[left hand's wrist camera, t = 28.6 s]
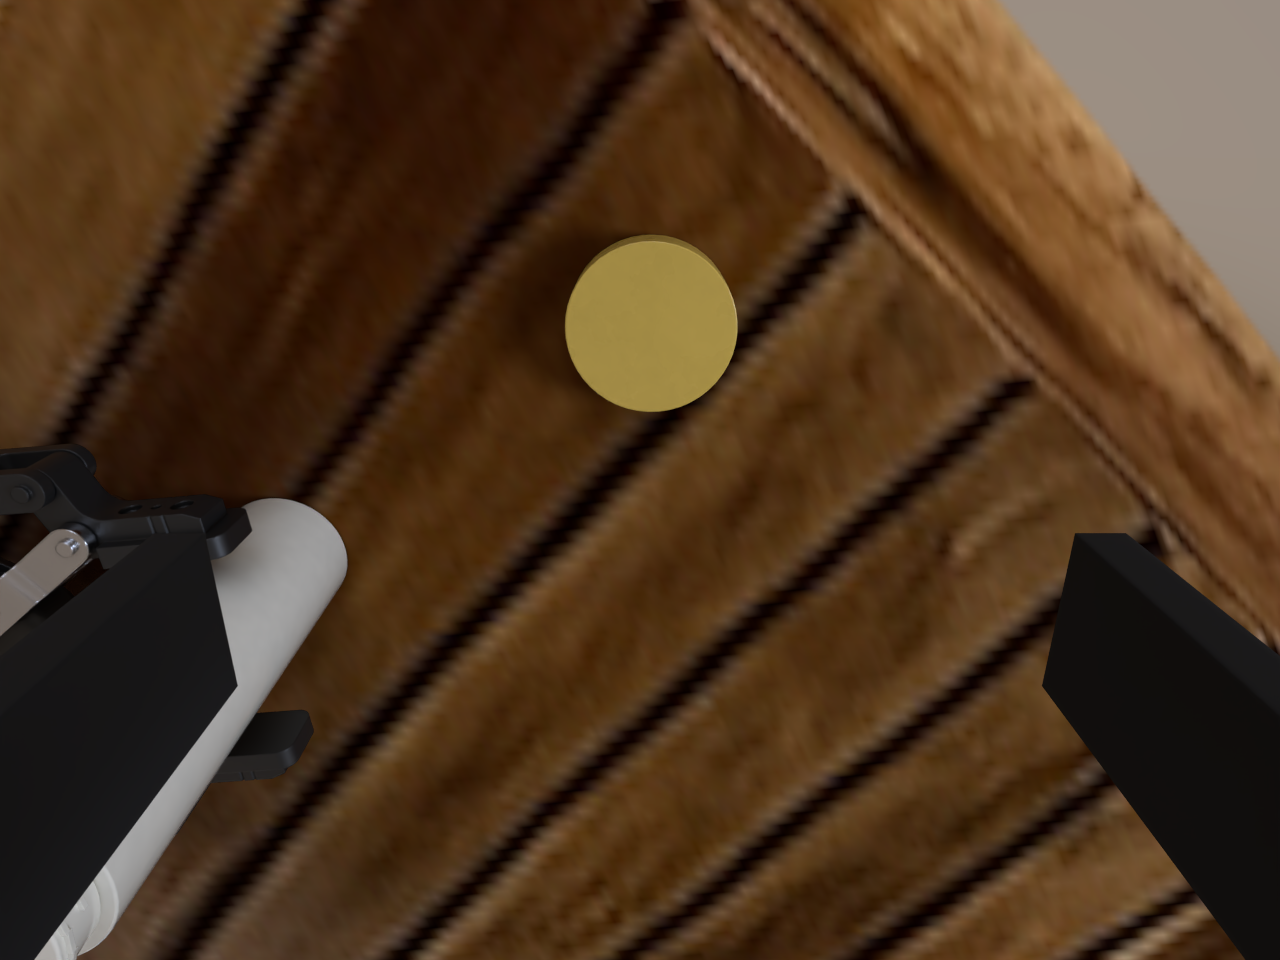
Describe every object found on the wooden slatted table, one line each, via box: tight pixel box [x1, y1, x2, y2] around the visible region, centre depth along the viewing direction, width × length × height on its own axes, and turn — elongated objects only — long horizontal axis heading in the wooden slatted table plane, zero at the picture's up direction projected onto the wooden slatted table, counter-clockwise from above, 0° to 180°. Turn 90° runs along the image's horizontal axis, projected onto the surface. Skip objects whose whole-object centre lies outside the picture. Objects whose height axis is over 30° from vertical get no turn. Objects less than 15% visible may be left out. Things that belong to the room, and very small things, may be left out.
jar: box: [35, 498, 347, 960], centre depth 25 cm, size 5×5×17 cm
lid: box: [565, 235, 737, 412], centre depth 28 cm, size 6×6×2 cm
